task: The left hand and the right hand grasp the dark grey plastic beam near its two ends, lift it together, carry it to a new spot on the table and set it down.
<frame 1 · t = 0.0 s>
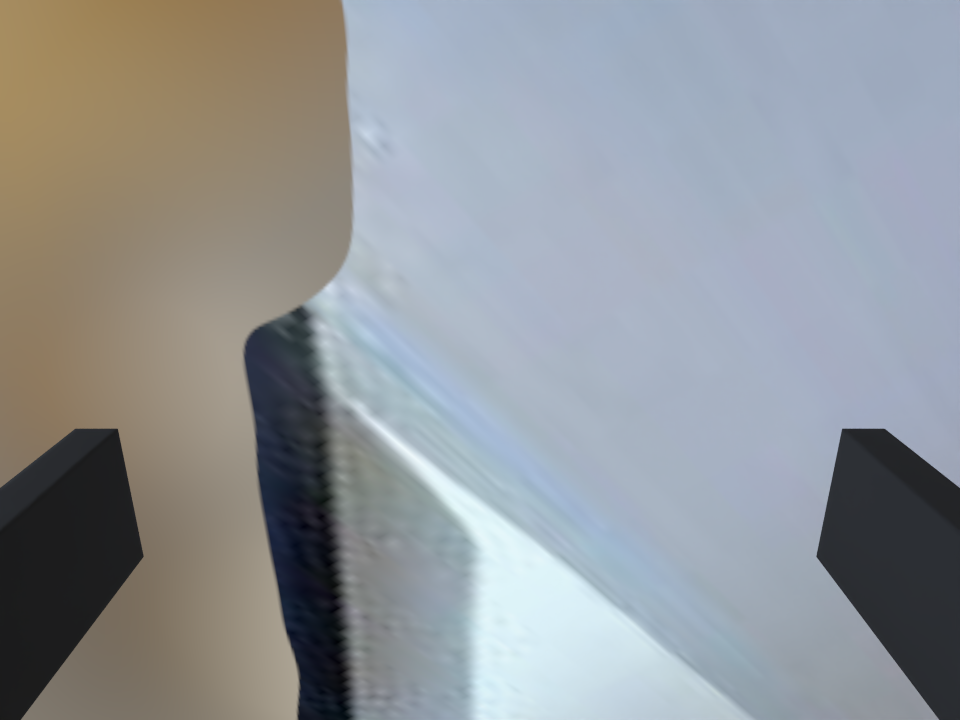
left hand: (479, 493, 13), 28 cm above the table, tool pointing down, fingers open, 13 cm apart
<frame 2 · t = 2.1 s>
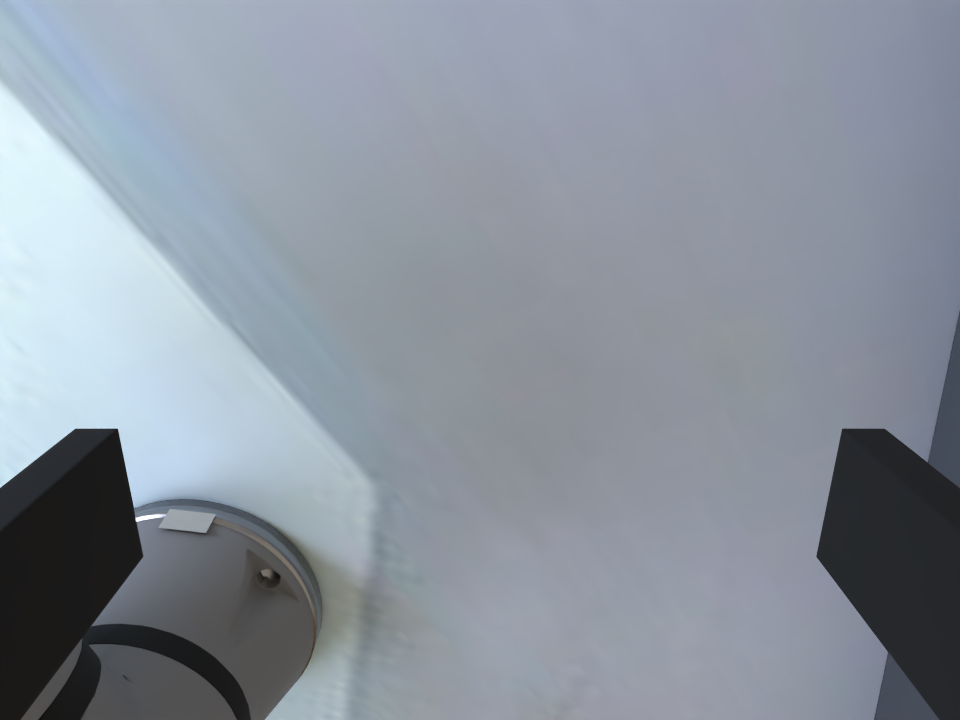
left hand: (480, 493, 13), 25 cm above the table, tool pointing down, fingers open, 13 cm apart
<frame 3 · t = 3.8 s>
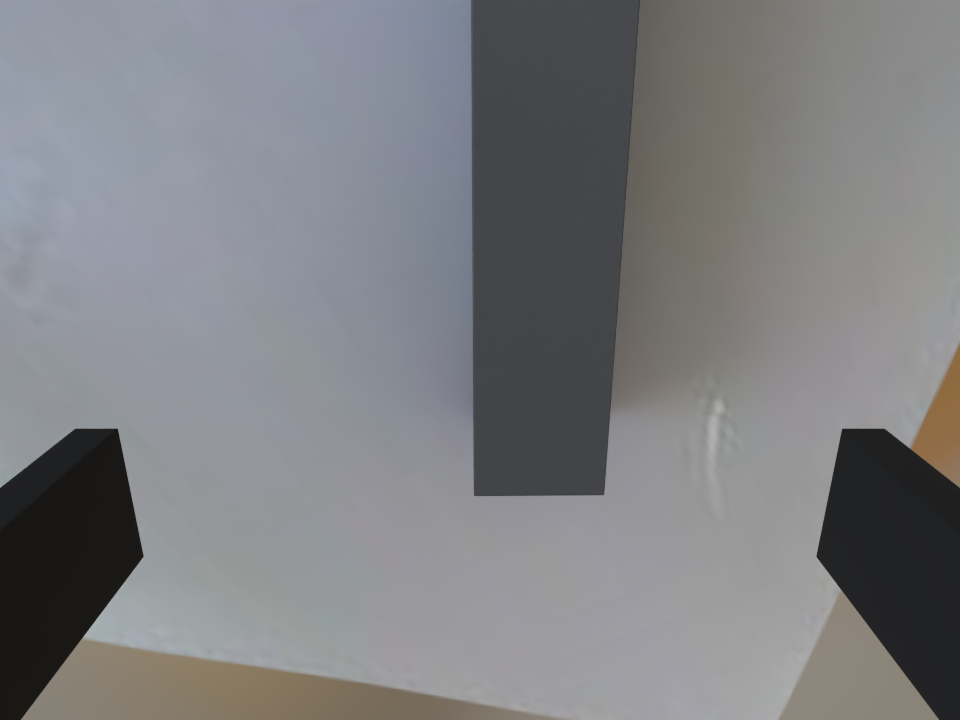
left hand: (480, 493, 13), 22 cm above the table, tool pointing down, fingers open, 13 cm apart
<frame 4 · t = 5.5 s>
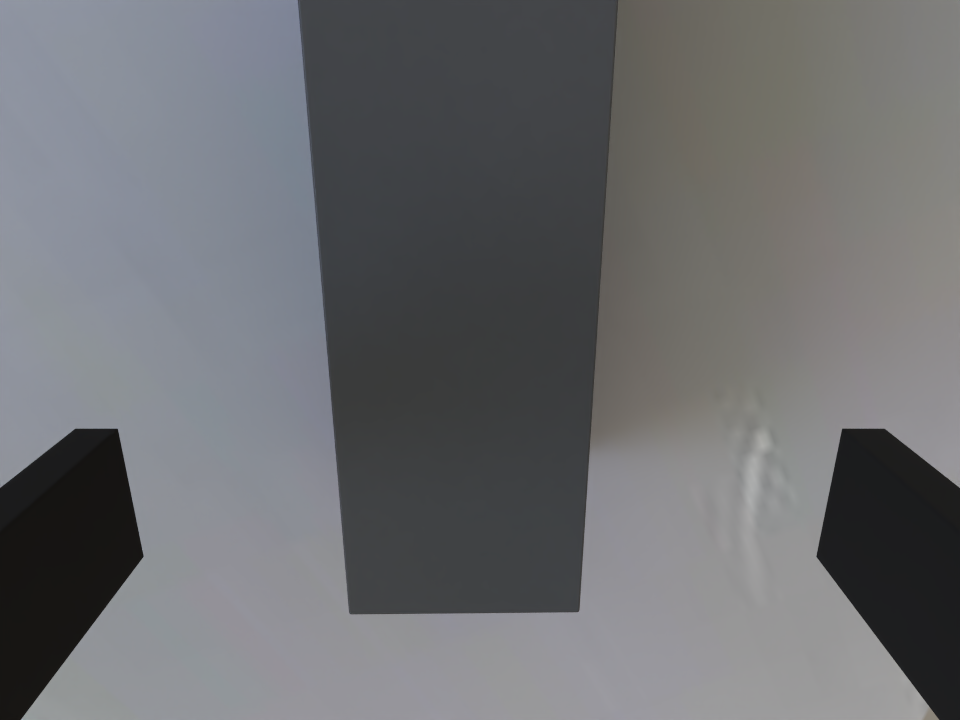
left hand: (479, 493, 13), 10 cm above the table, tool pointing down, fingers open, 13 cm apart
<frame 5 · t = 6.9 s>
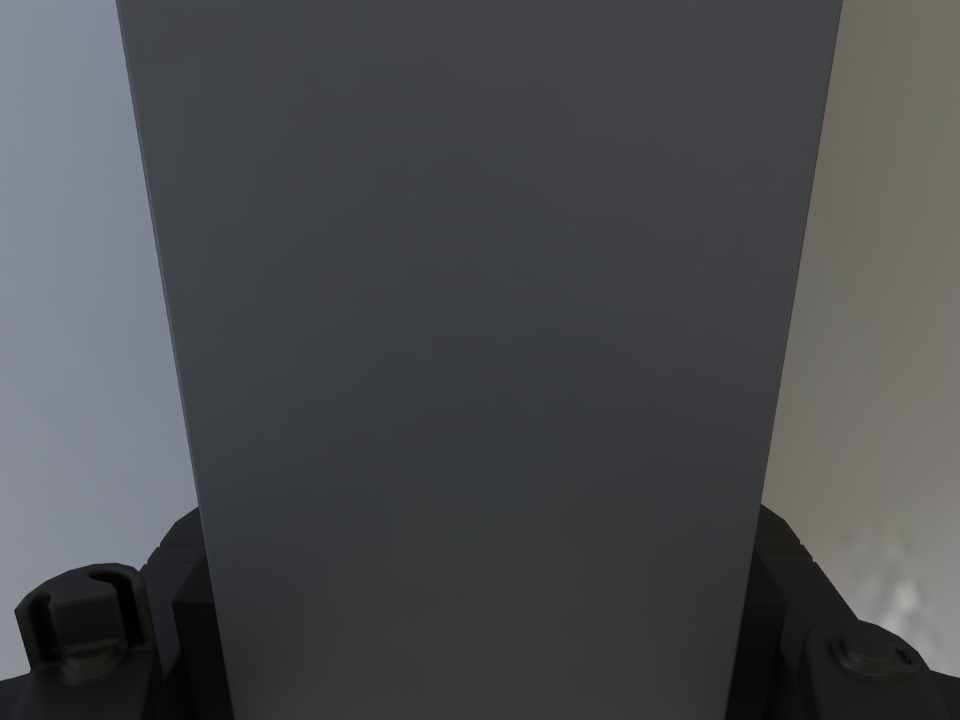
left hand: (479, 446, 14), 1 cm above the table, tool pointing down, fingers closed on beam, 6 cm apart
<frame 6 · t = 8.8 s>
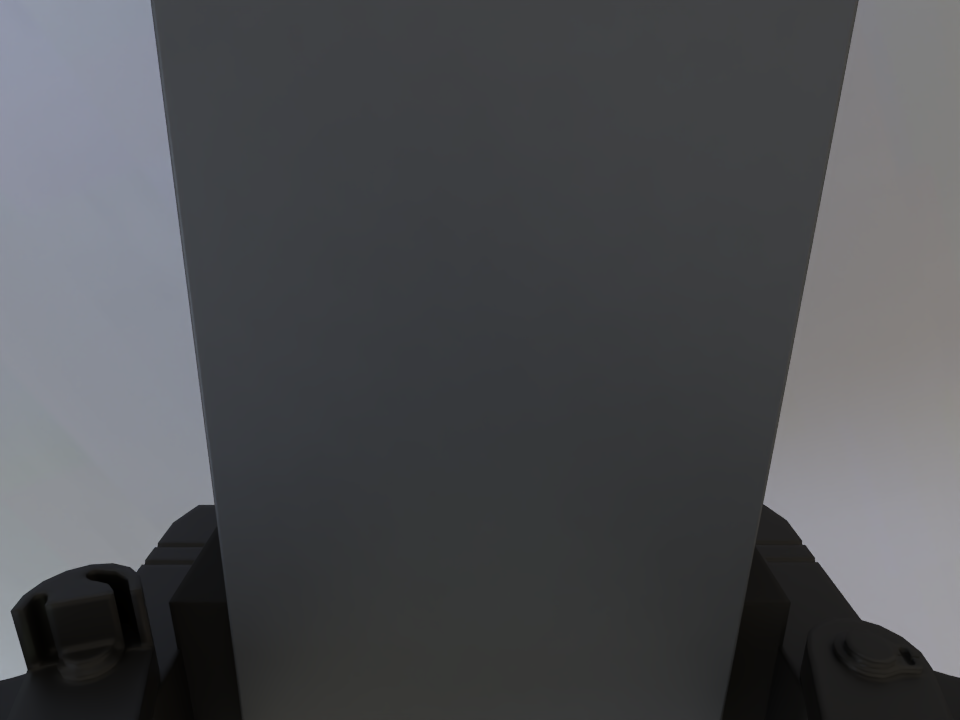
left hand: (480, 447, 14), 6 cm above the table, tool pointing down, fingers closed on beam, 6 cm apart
when the left hand's fingers open (2 cm above the table, at t = 10.9 s): beam drops 1 cm, held by the right hand.
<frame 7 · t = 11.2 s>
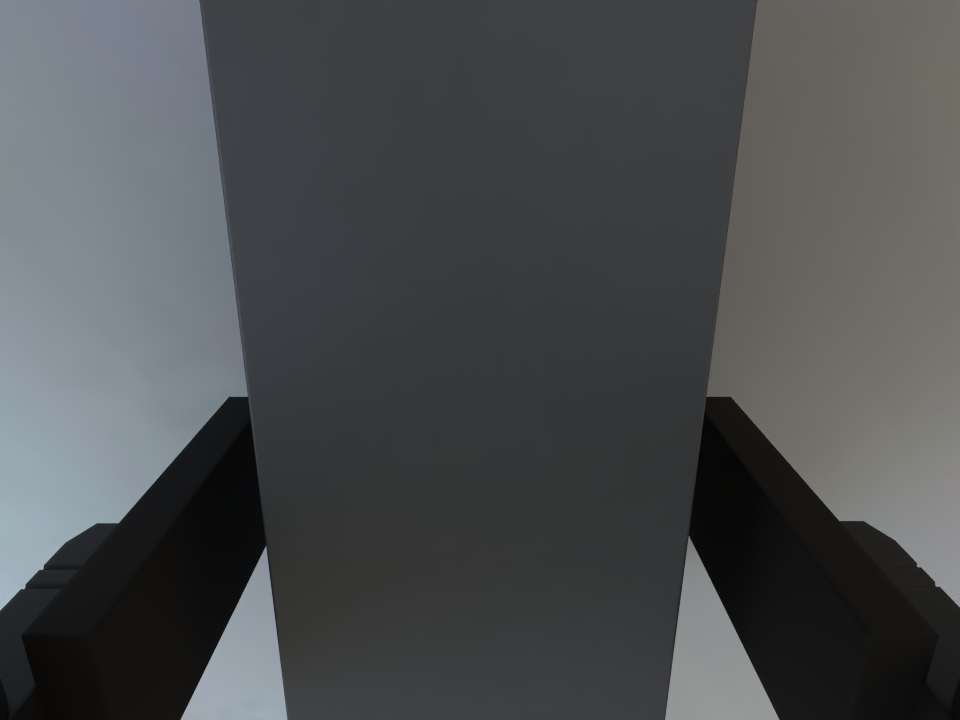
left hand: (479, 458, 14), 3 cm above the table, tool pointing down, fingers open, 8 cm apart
when the right hand's fingers open (4 cm above the table, at t = 11.2 s): beam stays where it is, on the table.
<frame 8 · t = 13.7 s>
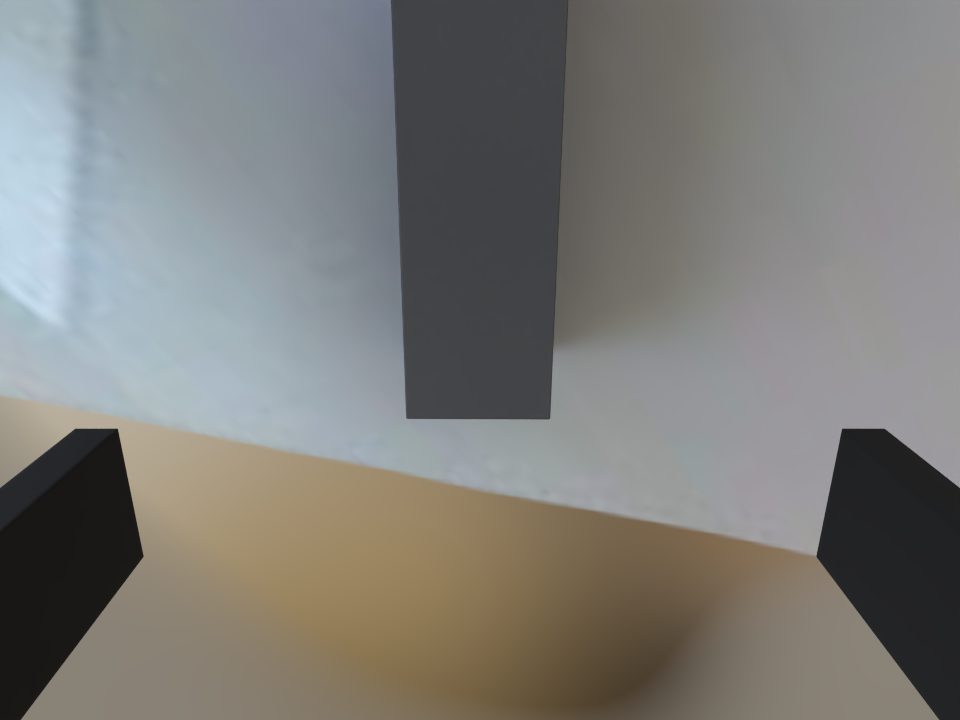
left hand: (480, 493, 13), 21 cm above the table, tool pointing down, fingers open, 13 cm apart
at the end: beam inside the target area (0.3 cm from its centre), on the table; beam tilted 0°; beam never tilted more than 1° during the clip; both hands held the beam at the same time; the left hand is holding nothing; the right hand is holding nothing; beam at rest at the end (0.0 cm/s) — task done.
